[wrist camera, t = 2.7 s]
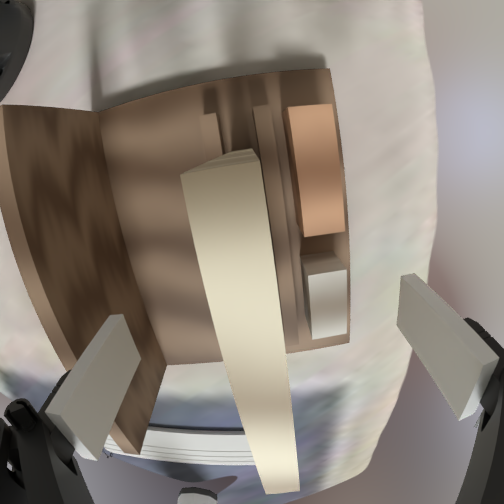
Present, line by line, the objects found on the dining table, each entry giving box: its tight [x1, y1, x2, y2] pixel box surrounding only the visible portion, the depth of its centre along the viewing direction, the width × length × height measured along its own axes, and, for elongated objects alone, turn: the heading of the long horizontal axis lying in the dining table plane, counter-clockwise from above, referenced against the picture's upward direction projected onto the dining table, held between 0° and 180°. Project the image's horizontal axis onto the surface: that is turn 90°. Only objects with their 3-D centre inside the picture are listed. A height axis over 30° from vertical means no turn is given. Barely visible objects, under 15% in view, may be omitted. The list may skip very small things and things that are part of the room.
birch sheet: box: [180, 148, 300, 494], centre depth 17 cm, size 14×2×18 cm, turn 9°
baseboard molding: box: [103, 426, 256, 465], centre depth 38 cm, size 31×3×12 cm
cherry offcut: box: [282, 104, 345, 237], centre depth 21 cm, size 9×3×4 cm, turn 9°
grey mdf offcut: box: [300, 251, 347, 340], centre depth 25 cm, size 6×3×4 cm, turn 9°
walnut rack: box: [0, 69, 350, 455], centre depth 20 cm, size 26×21×14 cm
